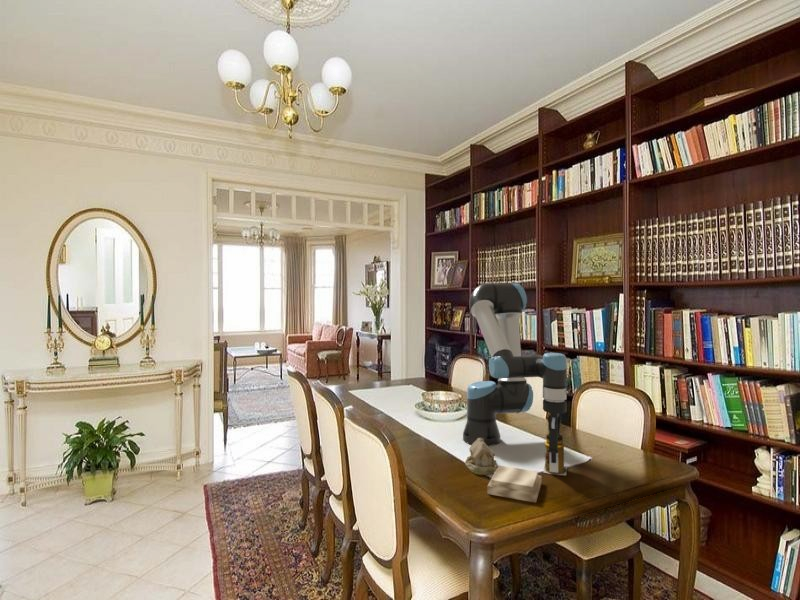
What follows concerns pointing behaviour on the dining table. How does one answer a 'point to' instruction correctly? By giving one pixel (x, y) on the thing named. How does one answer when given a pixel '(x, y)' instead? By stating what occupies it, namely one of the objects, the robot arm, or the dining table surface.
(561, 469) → the condiment
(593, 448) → the dining table surface
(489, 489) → the plinth
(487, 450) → the ceramic model
